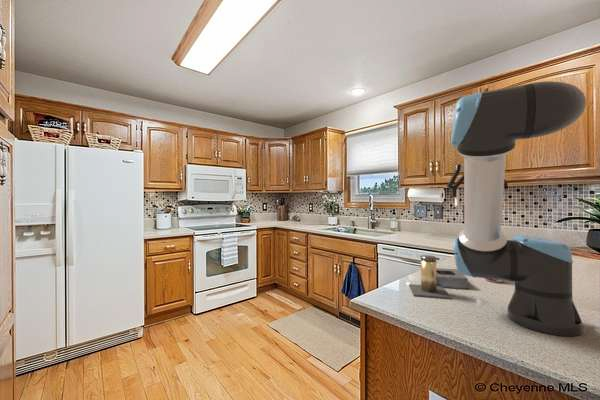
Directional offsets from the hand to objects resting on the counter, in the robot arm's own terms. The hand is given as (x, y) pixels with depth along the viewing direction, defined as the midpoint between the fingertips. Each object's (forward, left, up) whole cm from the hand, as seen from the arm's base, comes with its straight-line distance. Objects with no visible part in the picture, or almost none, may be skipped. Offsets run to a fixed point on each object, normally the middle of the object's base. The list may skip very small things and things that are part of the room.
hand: (476, 205), depth 102 cm
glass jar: (-11, +20, -31) cm, 38 cm away
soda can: (+10, -9, -32) cm, 35 cm away
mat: (-11, +20, -32) cm, 39 cm away
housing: (+3, +11, -32) cm, 34 cm away
